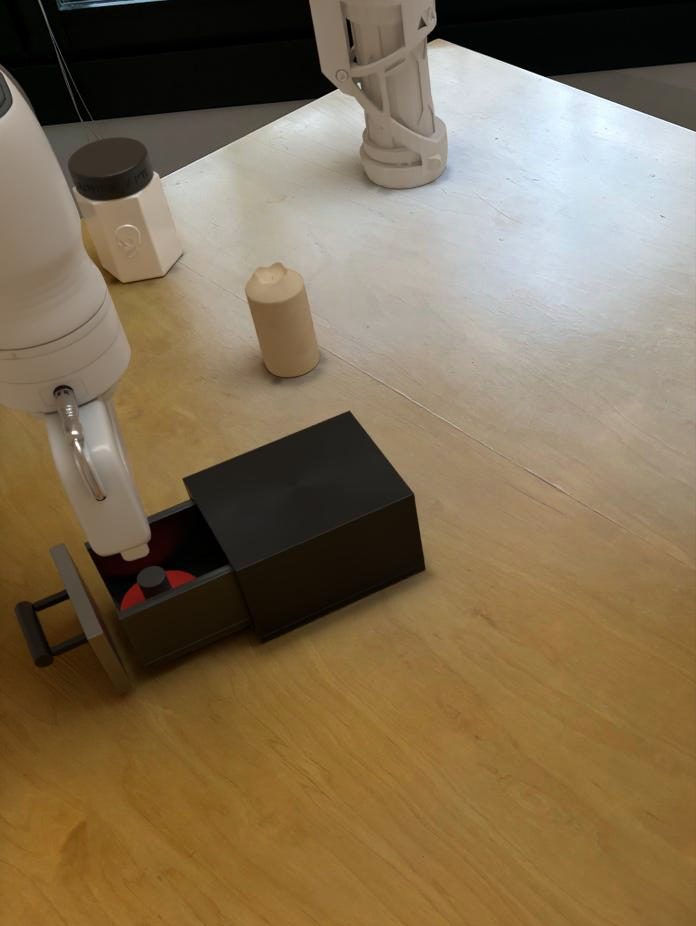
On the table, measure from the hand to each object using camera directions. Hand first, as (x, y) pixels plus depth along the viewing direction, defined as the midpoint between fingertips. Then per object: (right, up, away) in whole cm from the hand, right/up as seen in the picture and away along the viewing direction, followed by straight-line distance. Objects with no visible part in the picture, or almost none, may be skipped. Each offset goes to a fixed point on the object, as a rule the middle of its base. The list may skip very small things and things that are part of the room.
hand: (124, 507), depth 76 cm
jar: (-12, +33, +43) cm, 55 cm away
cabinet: (+12, -3, +13) cm, 18 cm away
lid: (0, -7, +8) cm, 11 cm away
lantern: (+15, +47, +52) cm, 71 cm away
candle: (+7, +18, +30) cm, 36 cm away
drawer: (0, -8, +9) cm, 12 cm away
